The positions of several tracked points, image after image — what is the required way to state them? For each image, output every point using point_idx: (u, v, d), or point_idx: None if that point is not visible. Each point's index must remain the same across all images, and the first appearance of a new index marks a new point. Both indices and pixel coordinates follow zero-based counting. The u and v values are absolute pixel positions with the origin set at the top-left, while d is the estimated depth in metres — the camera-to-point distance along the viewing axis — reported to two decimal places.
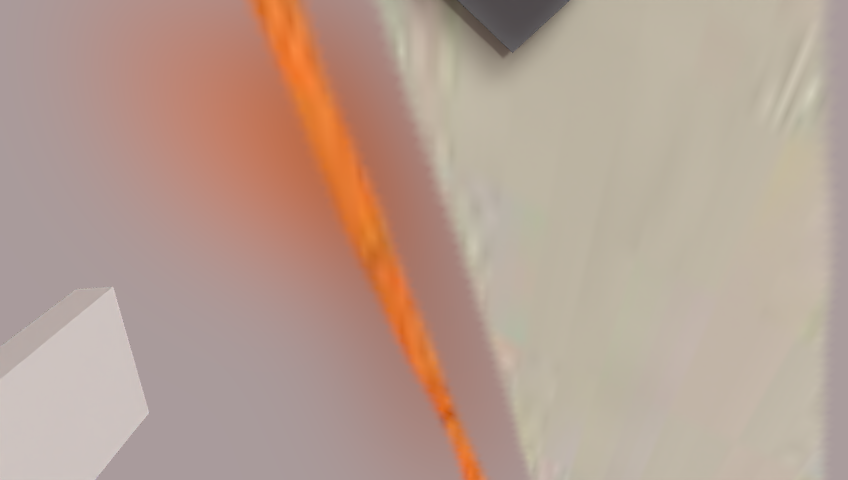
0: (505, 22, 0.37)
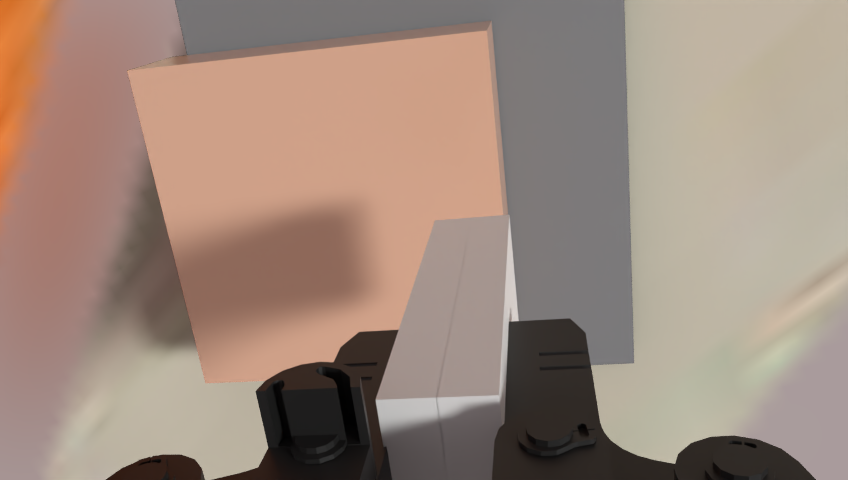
0: None
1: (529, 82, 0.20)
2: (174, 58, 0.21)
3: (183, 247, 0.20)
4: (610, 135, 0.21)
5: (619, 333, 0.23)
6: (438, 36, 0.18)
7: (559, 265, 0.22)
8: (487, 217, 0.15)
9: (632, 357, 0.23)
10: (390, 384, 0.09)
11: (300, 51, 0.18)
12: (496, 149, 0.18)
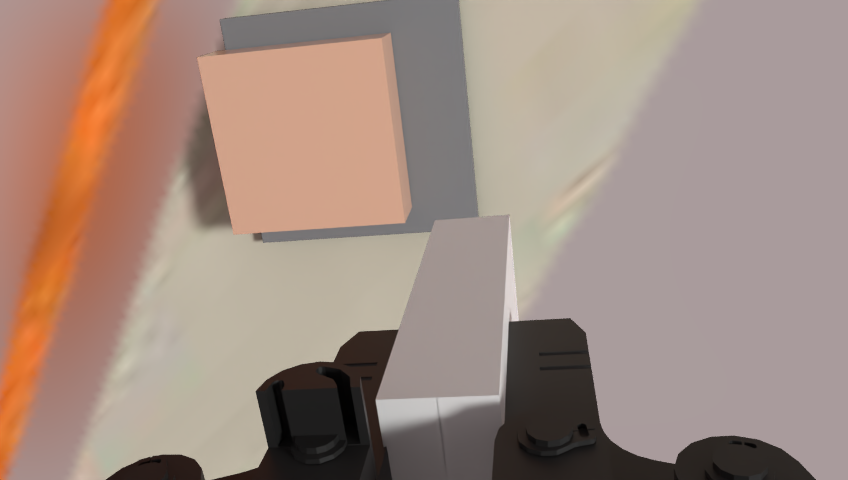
0: None
1: (412, 66, 0.38)
2: (219, 51, 0.38)
3: (223, 154, 0.38)
4: (457, 95, 0.38)
5: (469, 210, 0.40)
6: (357, 40, 0.35)
7: (433, 170, 0.39)
8: (486, 217, 0.15)
9: None
10: (390, 384, 0.09)
11: (287, 47, 0.35)
12: (388, 99, 0.36)
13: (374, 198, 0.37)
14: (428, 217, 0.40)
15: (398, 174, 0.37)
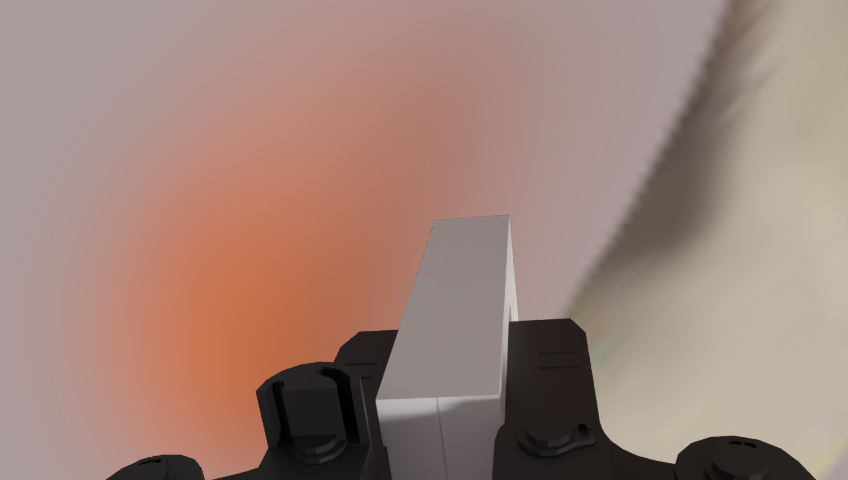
0: None
1: None
2: None
3: None
4: None
5: None
6: None
7: None
8: (487, 217, 0.15)
9: None
10: (390, 384, 0.09)
11: None
12: None
13: None
14: None
15: None
